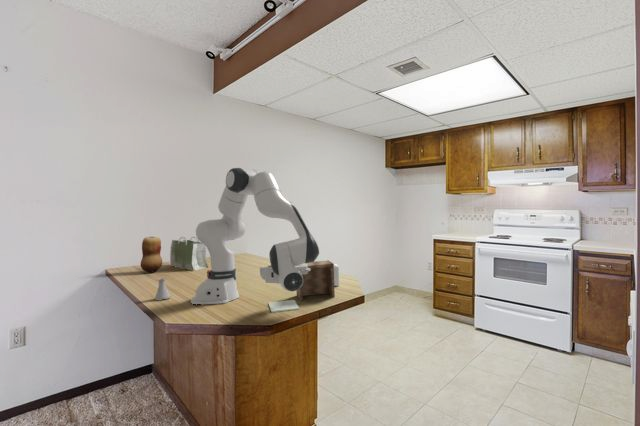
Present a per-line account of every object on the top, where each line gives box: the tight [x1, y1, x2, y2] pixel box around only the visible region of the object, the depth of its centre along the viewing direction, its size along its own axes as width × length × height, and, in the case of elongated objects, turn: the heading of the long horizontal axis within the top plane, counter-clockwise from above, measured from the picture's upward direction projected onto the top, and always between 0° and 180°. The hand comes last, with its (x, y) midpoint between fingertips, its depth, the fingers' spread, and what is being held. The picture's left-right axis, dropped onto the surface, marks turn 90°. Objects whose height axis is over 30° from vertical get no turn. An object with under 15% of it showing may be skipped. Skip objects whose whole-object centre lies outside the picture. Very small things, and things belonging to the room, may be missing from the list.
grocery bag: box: [169, 236, 209, 272], centre depth 236 cm, size 32×14×23 cm, turn 53°
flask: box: [154, 277, 171, 301], centre depth 158 cm, size 7×7×10 cm
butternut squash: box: [140, 236, 163, 273], centre depth 222 cm, size 14×13×25 cm
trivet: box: [268, 299, 300, 314], centre depth 140 cm, size 12×12×1 cm
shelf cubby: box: [296, 259, 336, 302], centre depth 153 cm, size 17×9×16 cm, turn 105°
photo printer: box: [333, 263, 340, 287], centre depth 171 cm, size 10×4×12 cm, turn 103°
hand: (281, 266), depth 140 cm, fingers closed on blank, 4 cm apart
